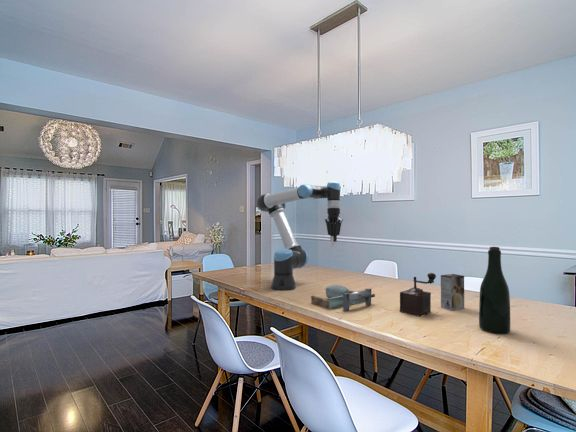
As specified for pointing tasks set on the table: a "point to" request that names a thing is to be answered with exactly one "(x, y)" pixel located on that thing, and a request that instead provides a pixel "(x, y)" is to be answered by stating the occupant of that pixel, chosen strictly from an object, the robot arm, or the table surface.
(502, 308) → the dark green wine bottle
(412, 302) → the manual coffee grinder
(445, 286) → the coffee box
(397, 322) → the table surface
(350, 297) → the grey clamp
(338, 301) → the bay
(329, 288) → the grey rounded barrel
